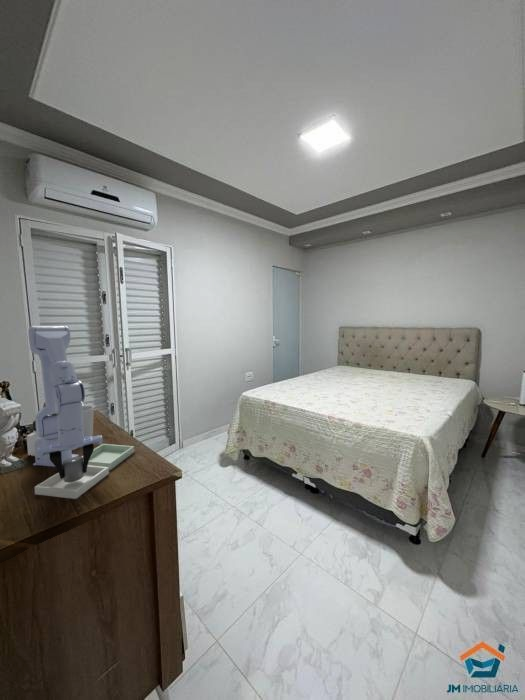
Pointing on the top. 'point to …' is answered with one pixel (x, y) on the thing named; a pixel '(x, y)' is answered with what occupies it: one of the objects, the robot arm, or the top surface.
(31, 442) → the medicine bottle
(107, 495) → the top surface
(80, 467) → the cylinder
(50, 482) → the bin
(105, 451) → the bin
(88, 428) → the cup
